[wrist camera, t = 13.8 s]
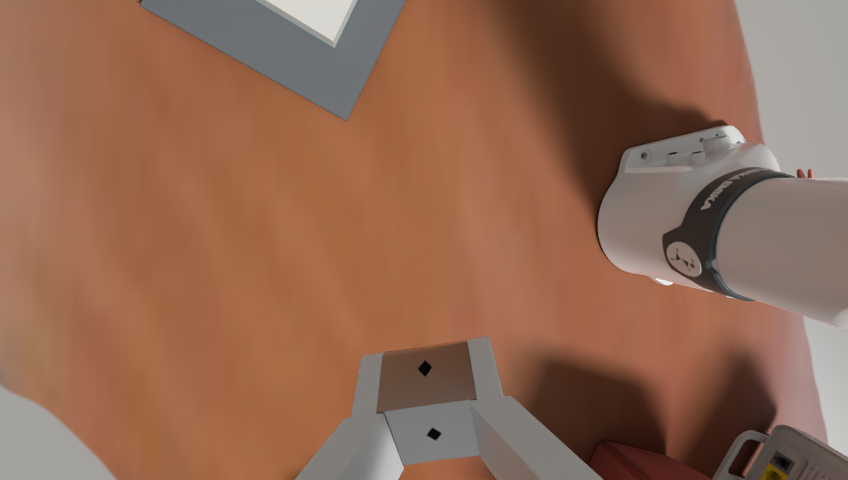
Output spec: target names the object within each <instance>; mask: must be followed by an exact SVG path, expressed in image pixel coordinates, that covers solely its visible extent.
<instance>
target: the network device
mask: <svg viewBox="0 0 848 480" xmlns="http://www.w3.org/2000/svg"><path fill="white" fill-rule="evenodd" d="M748 439H753V440H756V441H759V442H762V443H764V445H763V447H762V449H761V451H760V452H759V454H758V456H757V457H756V459H755V461H754V463H753V464H752V466H751V468H750V469H749V471H748V473H747V474H746V476H745V478H742V477H739V476H736V475H733V474H729V473H728V470H729V467H730V466H731V464H732V462H733V460H734V459H735V457H736V455H737V454H738V452H739V450H740V448H741V447H742V445H743V443H744V442H745V441H746V440H748ZM712 480H848V457H847V456H845V455H843V454H841V453H840V452H838V451H836V450H834V449H833V448H831V447H830V446H828V445H826V444H824V443H823V442H821V441H819V440H818V439H816V438H814V437H812V436H811V435H809V434H807V433H805V432H803V431H800V430H798V429H795V428H792V427H790V426H787V425H778V426H776V427H774V429H773V430H772V432H771V433H770V435H769V436H768V435H765V434H762V433H760V432H757V431H754V430H748V431H745V432H743V433H741V434H740V435H739V436H738V437H737V438H736V439H735V440H734V442H733V444H732V445H731V447H730V449H729V450H728V452H727V454H726V456H725V457H724V459H723V461H722V463H721V464H720V466H719V468H718V470H717V471H716V473H715V475H714V477H713V478H712Z"/></svg>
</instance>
